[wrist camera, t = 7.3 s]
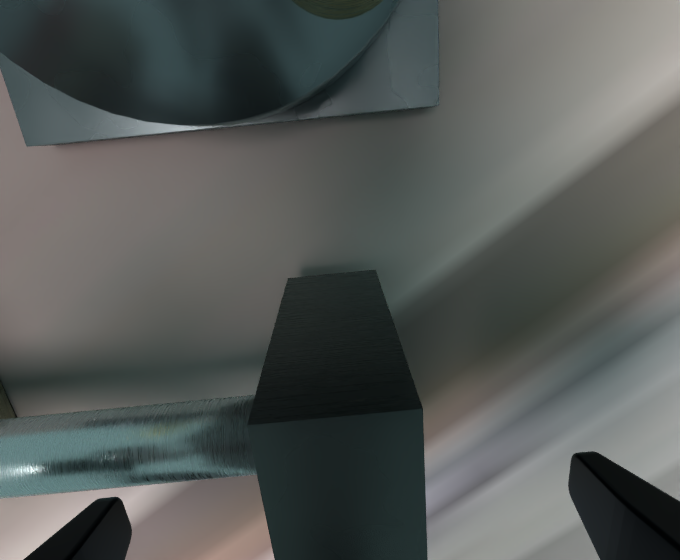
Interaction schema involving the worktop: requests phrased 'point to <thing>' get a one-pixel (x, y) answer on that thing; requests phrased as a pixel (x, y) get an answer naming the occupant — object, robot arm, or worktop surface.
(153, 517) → the worktop surface
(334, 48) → the handwheel
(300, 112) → the wheel base
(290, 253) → the worktop surface
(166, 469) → the block-headed metal hammer
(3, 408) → the grey-green hollow piece
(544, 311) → the worktop surface
